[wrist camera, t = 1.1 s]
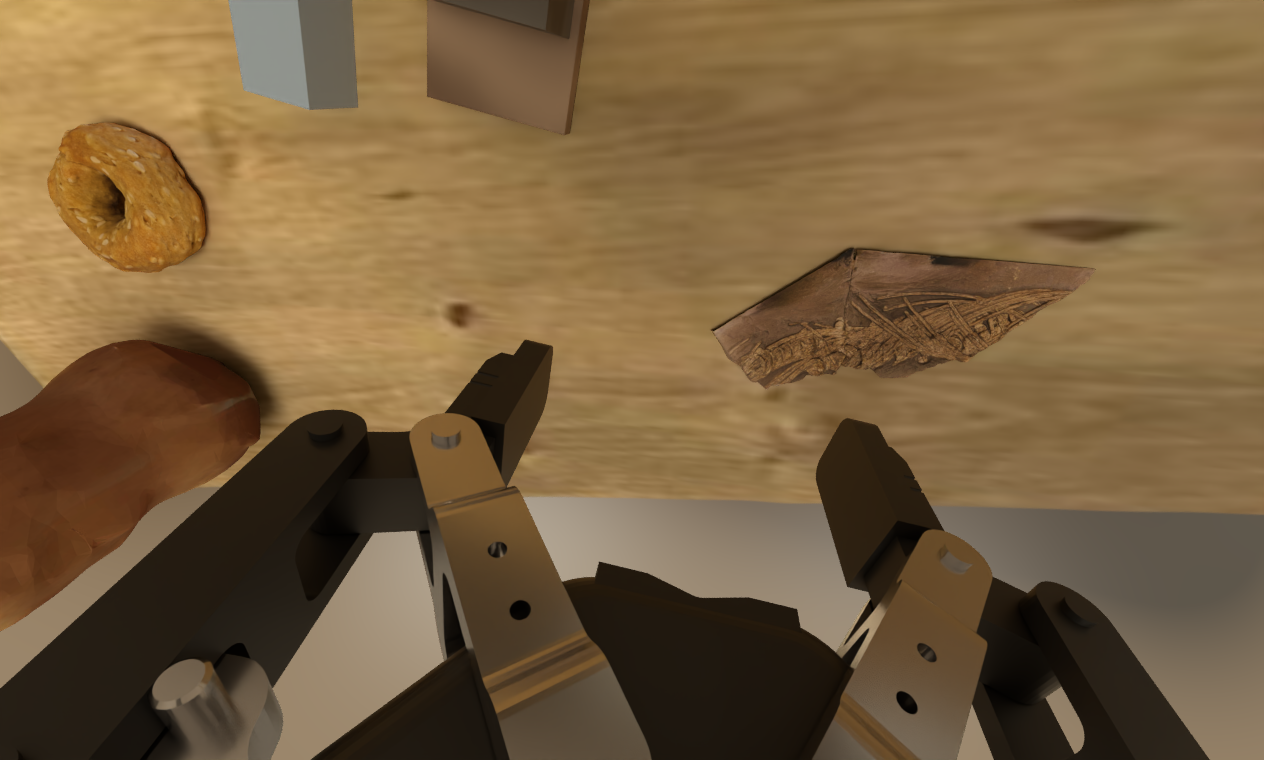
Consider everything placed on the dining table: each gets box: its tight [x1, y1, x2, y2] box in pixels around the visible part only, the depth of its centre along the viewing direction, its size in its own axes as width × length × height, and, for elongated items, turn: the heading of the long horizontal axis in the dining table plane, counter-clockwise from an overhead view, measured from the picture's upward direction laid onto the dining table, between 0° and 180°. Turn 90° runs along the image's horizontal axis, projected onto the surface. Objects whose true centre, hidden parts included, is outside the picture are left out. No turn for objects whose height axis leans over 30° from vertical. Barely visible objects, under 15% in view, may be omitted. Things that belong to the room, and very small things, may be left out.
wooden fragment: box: [711, 249, 1096, 389], centre depth 35 cm, size 26×11×1 cm, turn 101°
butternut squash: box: [0, 340, 260, 631], centre depth 36 cm, size 14×13×25 cm
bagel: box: [48, 123, 206, 273], centre depth 36 cm, size 10×11×5 cm
